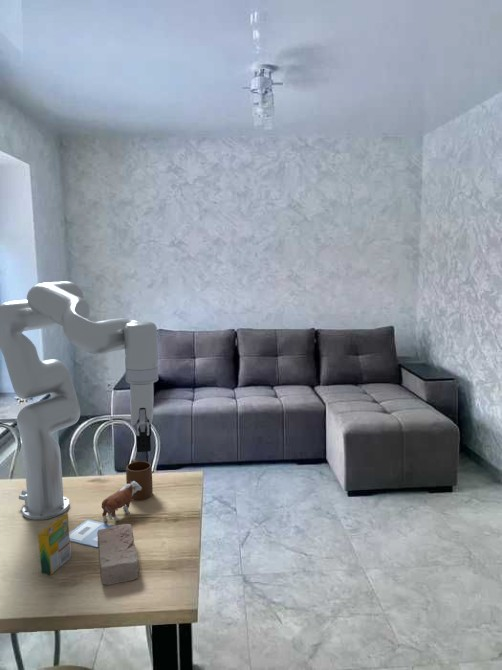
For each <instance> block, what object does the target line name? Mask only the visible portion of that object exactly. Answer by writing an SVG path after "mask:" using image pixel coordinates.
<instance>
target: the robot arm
mask: <svg viewBox="0 0 502 670" xmlns="http://www.w3.org/2000/svg"><path fill="white" fill-rule="evenodd" d="M84 298H85V297H84V292H83V291H82V289H81V288H80V286H79V285H78V284H76V283H74V282H72V281H67V280H66V281H65V280H64V281H51V282H49V281H48V282H47V281H46V282H42V283H41V282H40V283H37V284H36V285H34V286H32V287H31V288H30V289H29V291H28V292H27V294H26V299H20V300H18V299H17V300H10V301H6V302H4V303H1V304H0V351H1V352H2V355H3V358H4V363H5V366H6V369H7V373H8V375H9V376H8V377H9V379H10V382H11V385H12V388H13V389H12V390H13V391H14V394H15V395H16V397H18V398H19V399H22V400H28V399H34V398H37V397H42V396H46V395H48V394H49V395H50V398H46V399H42V400H39V401H35V402H32V403H29V404H27V405H26V406H24V407H23V408H21V409H20V410H19V411H18V413H17V415H16V423H17V428H18V432H19V434H20V439H21V443H22V451H23V452H22V453H23V462H24V473H25V486H26V488H23V489H22V490H21V494H19V495H18V500H20V501H24V505H23V507H22V509H21V512H22V516H24V517H25V518H26V519H28V520H35V521H37V520H38V521H39V520H47V519H48V520H49V519H53V518H55V517H58V516H60V515H62V514H64V513H65V512H66V511H67V510H68V509H69V508H70V504H71V503H70V499H69V498H68V497H66V496H64V484H63V469H62V456H61V455H62V454H61V448H60V445H59V442H58V441H57V440H56V439H55V438H54V437H53V434H54V433H56V432H58V431H61V430H63V429H66V428H69V427H71V426H74V425H75V424H76V423H77V422H79V419H80V417H81V407H80V403H79V399H78V396H77V393H76V388H75V385H74V383H73V382H74V381H73V378H72V376H71V373H70V370H69V368H68V366H67V365H66V364H65V363H64V362H62V360H59V359H54V358H52V359H51V358H50V359H45V360H41V359H40V357H39V354H38V350H37V347H36V346H35V344H34V342H33V341H32V340H31V339H30V338H29V337H28V336H26V335H25V334H24V333H23V332H27V331H33V330H35V331H36V330H40V329H46V328H52V327H55V326H57V325H59V326H61V327H62V330H63V333H64V334H65V336H66V339H67V340H68V342H69V343H71V345H74V346H75V347H77V348H79V349H81V350H82V351H84V352H87V353H89V354H93V355H104V354H108V353H112V352H117V351H122V350H124V363H125V366H124V367H125V369H124V370H125V382H126V383H127V384H130V389H129V393H130V394H129V396H130V398H129V401H130V402H129V403H130V405H129V406H130V425H131V426H134V425H136V434H135V435H136V436H135V438H136V452H137V453H146V452H147V453H148V452H151V450H152V445H151V444H152V442H151V439H152V437H151V436H152V423H153V415H154V401H155V400H154V399H155V398H154V397H155V396H154V392H155V391H154V383H156V382H158V381H159V358H158V357H159V351H158V329H157V328H158V327H157V325H156V324H155V323H154V322H151V321H147V320H146V321H144V320H143V321H141V320H140V321H138V320H135V319H133V318H129V317H121V318H113V319H105V320H100V321H92V320H90V319H89V317H90V305H89V302H87V301H86V299H84Z"/></svg>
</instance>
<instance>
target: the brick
mask: <svg viewBox="0 0 502 670" xmlns="http://www.w3.org/2000/svg"><path fill="white" fill-rule="evenodd" d="M97 536H98V548H97V549H98V561H99V568H100V578H101V583H102V584H103V585H105V586H107V585H115V584H118V583H124V582H131V581H133V580H136V579H137V578H138V577H139V571H140V570H139V566H140V565H139V557H138V556H139V555H138V550H137V548H136V544H135V538H134V531H133V527H132V524H130V523H125V524H118V525H115V526H112V527H109V528H105V529H101V530H98V532H97Z"/></svg>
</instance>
